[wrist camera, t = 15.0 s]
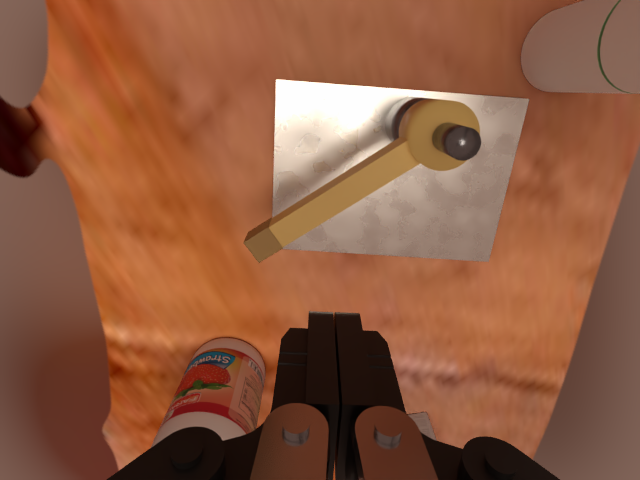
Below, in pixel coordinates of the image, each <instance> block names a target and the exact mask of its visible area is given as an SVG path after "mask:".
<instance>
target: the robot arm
mask: <svg viewBox="0 0 640 480" xmlns="http://www.w3.org/2000/svg"><path fill="white" fill-rule="evenodd" d="M334 460H335V479H336V480H560V479H558V478H557V477H555V476H554V475H553V474H551V473H550V472H549V471H547V470H546V469H545V468H543V467H542V466H540V465H539V464H538V463H536V462H535V461H533V460H532V459H531V458H529V457H528V456H527V455H525V454H524V453H522V452H521V451H520V450H518V449H517V448H515V447H514V446H512V445H511V444H509V443H507V442H505V441H502V440H500V439H497V438H493V437H476V438H473V439H471V440H470V441H468V442H467V443H466V445H465V446H464V448H463V449H461V448H458V447H454V446H451V445H448V444H445V443H442V442H439V441H436V440H434V439H432V438H430V437H428V436H426V435H425V434H423V433H422V432H420V430H419V428H418V426H417V425H416V423H415V422H414V421H413V419H412V418H411V417H409V416H408V415H407V414H406V411H405V408H404V404H403V400H402V396H401V393H400V389H399V385H398V381H397V377H396V374H395V370H394V366H393V362H392V359H391V355H390V351H389V347H388V344H387V342H386V341H385V339H384V338H383V337H382V336H381V335H380V334H379V333H378V332H377V331H363V329H362V324H361V318H360V314H359V313H339V312H335V314H334V317H333V312H310V311H309V320H308V329H305V328H290V329H289V330H288V331H287V332H286V334H285V335H284V336H283V337H282V339H281V345H280V354H279V360H278V367H277V374H276V381H275V388H274V396H273V403H272V409H271V412H270V414H269V415H268V416H267V418H266V420H265V422H264V423H263V424H262V425H261V426H260V427H258V428H257V429H255V430H254V431H252V432H250V433H248V434H245V435H242V436H239V437H235V438H231V439H227V440H224V441H223V440H222V439H221V437H220V436H219V435H218V434H217V433H216V432H215V431H213V430H211V429H209V428H205V427H198V426H195V427H187V428H183V429H180V430H178V431H175V432H173V433H172V434H170V435H168V436H167V437H165V438H164V439H163V440H161V441H160V442H158V443H157V444H156V445H154V446H153V447H152V448H150V449H149V450H147V451H146V452H145V453H143V454H142V455H140V456H139V457H138V458H136V459H135V460H133V461H132V462H131V463H129V464H128V465H126V466H125V467H124V468H122V469H121V470H119V471H118V472H117V473H115V474H114V475H113V476H111V477H110V478H108V479H107V480H333V471H334Z"/></svg>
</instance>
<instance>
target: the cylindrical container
mask: <svg viewBox="0 0 640 480" xmlns="http://www.w3.org/2000/svg"><path fill="white" fill-rule="evenodd" d="M521 67H522V71H523V74H524V76H525V78H526V79H527V80H528V82H529V83H530V84H531V85H532V86H534V87H535V88H537V89H539V90H541V91H546V92H570V93H624V94H640V0H584V1H581V2H577V3H574V4H571V5H568V6H565V7H562V8H559V9H556V10H554V11H551V12H549V13H547V14H546V15H545V16H543V17H542V18H540V19H539V20H538V21H537V22H536V23H535V24H534V26H533V27H532V28H531V30H530V31H529V32H528V34H527V36H526V38H525V40H524V44H523V47H522V51H521Z"/></svg>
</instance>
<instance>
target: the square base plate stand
mask: <svg viewBox="0 0 640 480" xmlns="http://www.w3.org/2000/svg"><path fill="white" fill-rule="evenodd" d="M425 99H441V100H452V101H458V102H461V103H463V104H465V105H467V106H468V107H469V108H470V109H471V110H472V111H473V112H474V113H475V115H476V117H477V119H478V122H479V126H480V135H479V133H478V132H477V131H476V130H475V129H473V128H470V127H466V126H462V125H459V124H455V123H450V122H447V123H443V124H441V125H439V126H438V127H437V128H436V129H435V131H434V133H433V136H432V141H433V145H434V146H435V148H436V149H437V150H439V151H441V152H443V153H445V154H447V155H449V156H451V157H452V158H454V159H456V160H460V161H465V160H467V161H466V162H465V163H463V164H462V165H460V166H459V167H457V168H454V169H452V170H448V171H436V170H432V169H429V168H427V167H425V166H424V165H422V164H421V163H420V164H419V165H417V166H415V167H414V168H412V169H411V170H409V171H407V172H406V173H404V174H402V175H401V176H399V177H397V178H396V179H394V180H392V181H391V182H389V183H388V184H386V185H384V186H383V187H381V188H379V189H378V190H376V191H374V192H373V193H371V194H370V195H368V196H366V197H365V198H363V199H361V200H360V201H358V202H356V203H355V204H353V205H352V206H350V207H348V208H347V209H345V210H343V211H342V212H340V213H338V214H337V215H335V216H334V217H332V218H330V219H329V220H327V221H325V222H324V223H322V224H320V225H319V226H317V227H315V228H314V229H312V230H311V231H309V232H307V233H306V234H304V235H302V236H301V237H299V238H297V239H296V240H294V241H293V242H291V243H289V244H288V245H286V246H284V247H283V249H292V250H308V251H324V252H340V253H356V254H372V255H388V256H405V257H421V258H437V259H453V260H469V261H485V262H489V258H490V254H491V250H492V246H493V242H494V238H495V234H496V230H497V226H498V222H499V218H500V214H501V210H502V206H503V202H504V198H505V194H506V190H507V186H508V182H509V178H510V174H511V170H512V166H513V162H514V158H515V154H516V150H517V146H518V142H519V138H520V134H521V130H522V126H523V122H524V118H525V114H526V110H527V106H528V102H529V99H524V98H511V97H498V96H485V95H472V94H459V93H446V92H433V91H420V90H407V89H393V88H380V87H367V86H354V85H341V84H328V83H315V82H302V81H289V80H276V104H275V140H274V176H273V213H272V218H273V217H274V216H276V215H277V214H279V213H281V212H282V211H284V210H285V209H287V208H289V207H290V206H292V205H293V204H295V203H296V202H298V201H300V200H301V199H303V198H304V197H306V196H308V195H309V194H311V193H312V192H314V191H315V190H317V189H319V188H320V187H322V186H323V185H325V184H327V183H328V182H330V181H331V180H333V179H334V178H336V177H338V176H339V175H341V174H342V173H344V172H346V171H347V170H349V169H350V168H352V167H353V166H355V165H357V164H358V163H360V162H361V161H363V160H364V159H366V158H368V157H369V156H371V155H372V154H374V153H376V152H377V151H379V150H380V149H382V148H383V147H385V146H387V145H388V144H390V143H391V142H393V141H395V140H396V139H398V138H399V126H400V122H401V120H402V118H403V116H404V114H405V113H406V111H407V110H408V109H409V108H410V107H411V106H413V105H414V104H415V103H417V102H419V101H422V100H425Z"/></svg>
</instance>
